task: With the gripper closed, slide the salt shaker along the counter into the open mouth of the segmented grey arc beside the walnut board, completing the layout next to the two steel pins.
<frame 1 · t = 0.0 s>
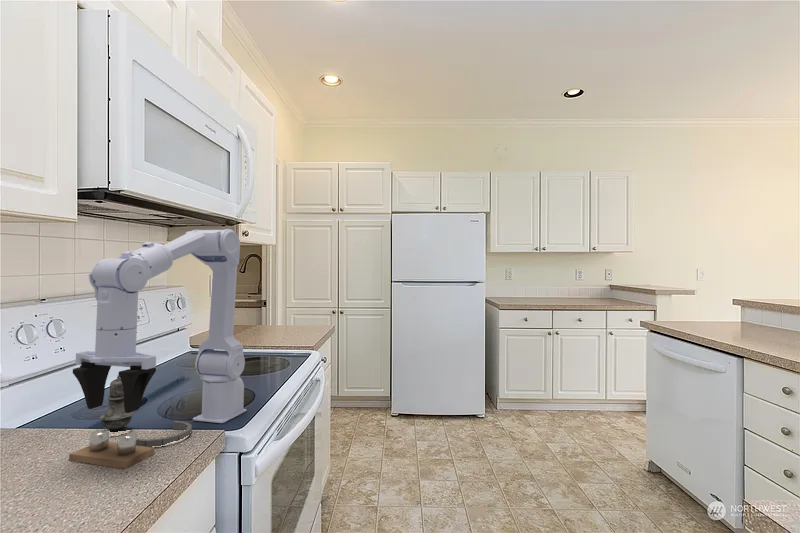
hand: (113, 409, 69), 10 cm above the countertop, fingers open, 7 cm apart
segmented grey arc: (160, 437, 83), on the countertop
pin board: (112, 457, 73), on the countertop
salt shaker: (116, 433, 85), on the countertop
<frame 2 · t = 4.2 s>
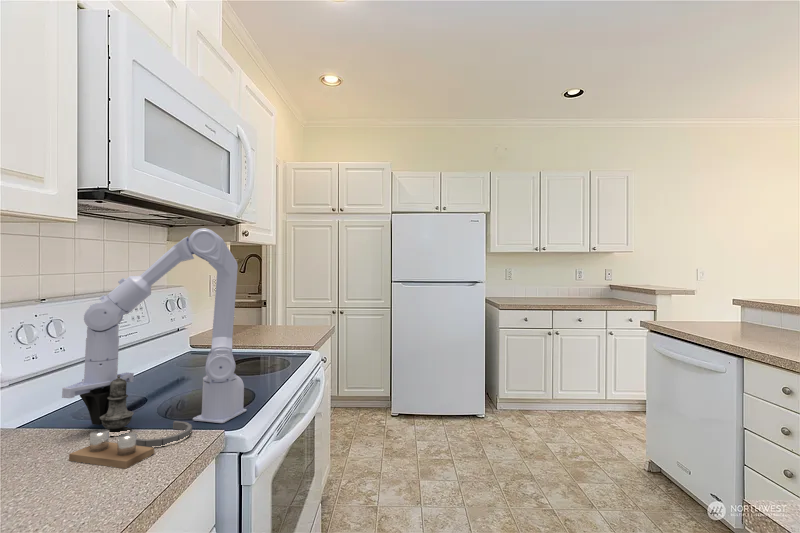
hand: (98, 423, 86), 1 cm above the countertop, fingers closed, pressing on salt shaker
salt shaker: (116, 433, 85), on the countertop, touching gripper
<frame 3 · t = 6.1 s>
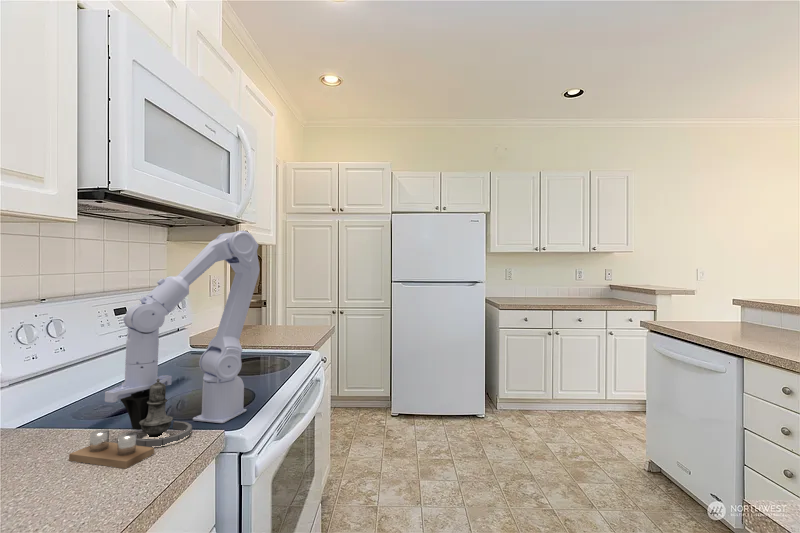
hand: (139, 428, 84), 1 cm above the countertop, fingers closed, pressing on salt shaker
salt shaker: (155, 439, 83), on the countertop, touching gripper
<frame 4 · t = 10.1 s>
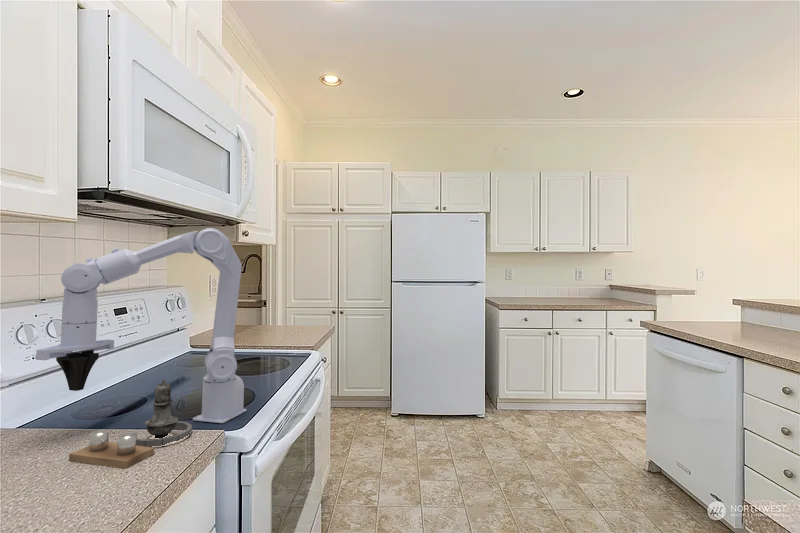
hand: (76, 389, 83), 9 cm above the countertop, fingers closed
salt shaker: (161, 439, 82), on the countertop
at the end: salt shaker 1.1 cm off-centre on the segmented grey arc, point 0.0 cm above the segmented grey arc's base; salt shaker tilted 0° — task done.
